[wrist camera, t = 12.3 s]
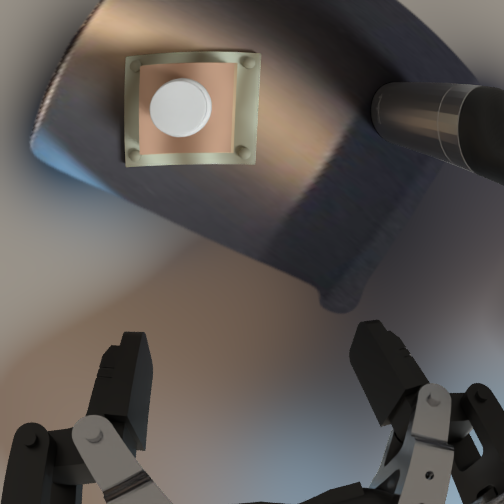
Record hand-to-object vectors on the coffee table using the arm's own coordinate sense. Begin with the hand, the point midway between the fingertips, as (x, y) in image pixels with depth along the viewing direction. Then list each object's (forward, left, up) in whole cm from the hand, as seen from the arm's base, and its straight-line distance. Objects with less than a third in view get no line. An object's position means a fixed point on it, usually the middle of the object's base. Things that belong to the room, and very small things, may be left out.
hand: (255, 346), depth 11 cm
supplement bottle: (+4, -8, -22) cm, 24 cm away
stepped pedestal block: (+4, -8, -30) cm, 31 cm away
